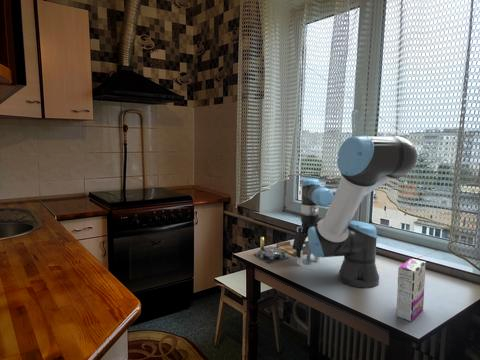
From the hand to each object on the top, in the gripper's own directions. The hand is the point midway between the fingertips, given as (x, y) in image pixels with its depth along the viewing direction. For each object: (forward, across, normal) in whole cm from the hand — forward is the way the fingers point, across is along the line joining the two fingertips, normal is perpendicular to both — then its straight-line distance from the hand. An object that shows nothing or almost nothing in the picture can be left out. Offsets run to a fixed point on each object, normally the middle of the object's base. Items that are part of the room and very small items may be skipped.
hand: (308, 262), depth 148 cm
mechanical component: (+1, 0, 0) cm, 1 cm away
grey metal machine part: (-1, -10, +15) cm, 18 cm away
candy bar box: (+1, 0, -49) cm, 49 cm away
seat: (+1, +4, +17) cm, 17 cm away
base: (+1, -10, +15) cm, 18 cm away
